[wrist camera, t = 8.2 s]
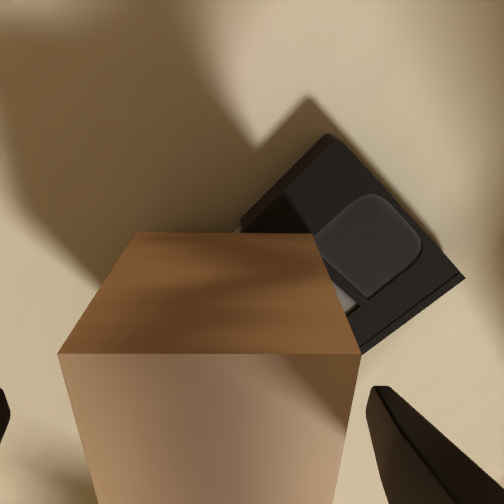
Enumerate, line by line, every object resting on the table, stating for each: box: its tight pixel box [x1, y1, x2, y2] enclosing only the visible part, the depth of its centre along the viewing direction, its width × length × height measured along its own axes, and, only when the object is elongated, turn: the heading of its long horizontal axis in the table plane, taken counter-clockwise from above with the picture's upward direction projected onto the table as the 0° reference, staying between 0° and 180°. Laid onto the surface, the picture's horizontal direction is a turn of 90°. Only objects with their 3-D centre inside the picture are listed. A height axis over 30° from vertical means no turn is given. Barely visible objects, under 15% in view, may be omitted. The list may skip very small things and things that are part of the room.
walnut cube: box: [57, 232, 362, 504], centre depth 11 cm, size 6×6×6 cm
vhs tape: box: [232, 134, 465, 356], centre depth 16 cm, size 8×14×2 cm, turn 136°
